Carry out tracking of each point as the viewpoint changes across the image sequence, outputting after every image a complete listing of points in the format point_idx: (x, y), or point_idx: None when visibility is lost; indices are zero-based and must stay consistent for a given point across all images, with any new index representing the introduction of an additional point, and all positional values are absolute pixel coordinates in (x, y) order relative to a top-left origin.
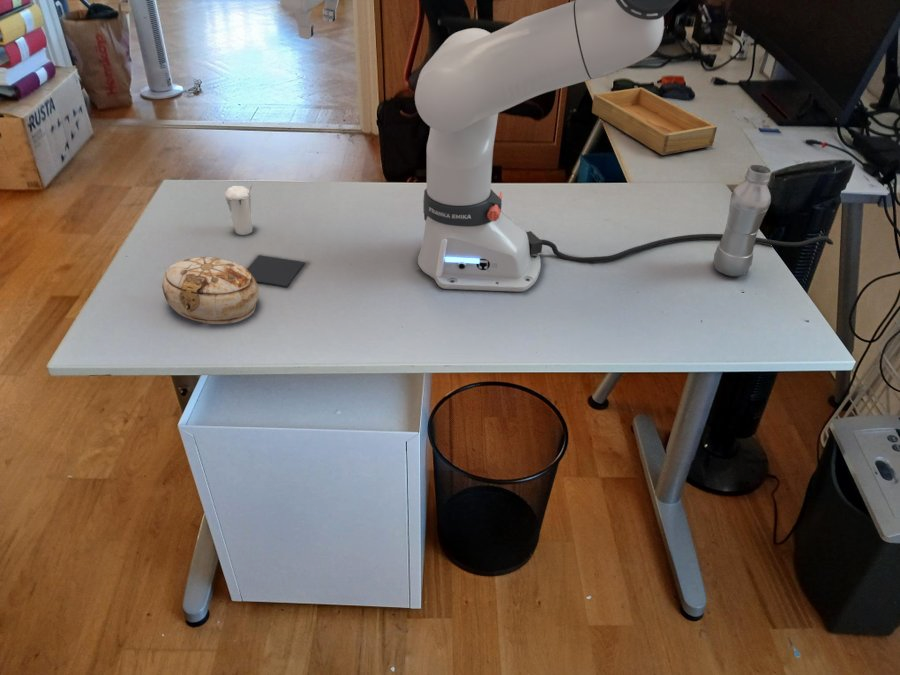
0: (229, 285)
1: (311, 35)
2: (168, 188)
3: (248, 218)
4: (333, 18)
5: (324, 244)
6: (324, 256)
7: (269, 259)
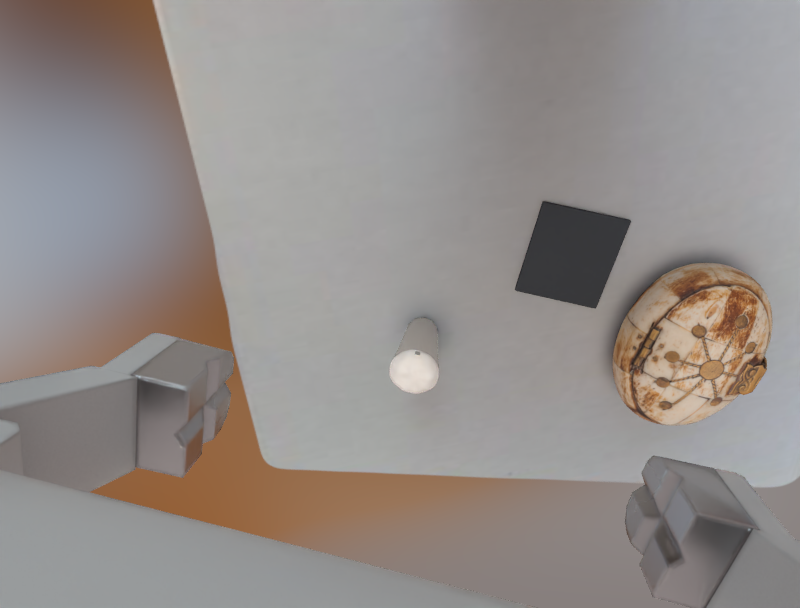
0: (759, 319)
1: (704, 469)
2: (290, 466)
3: (428, 332)
4: (205, 355)
5: (465, 174)
6: (514, 166)
7: (531, 269)
